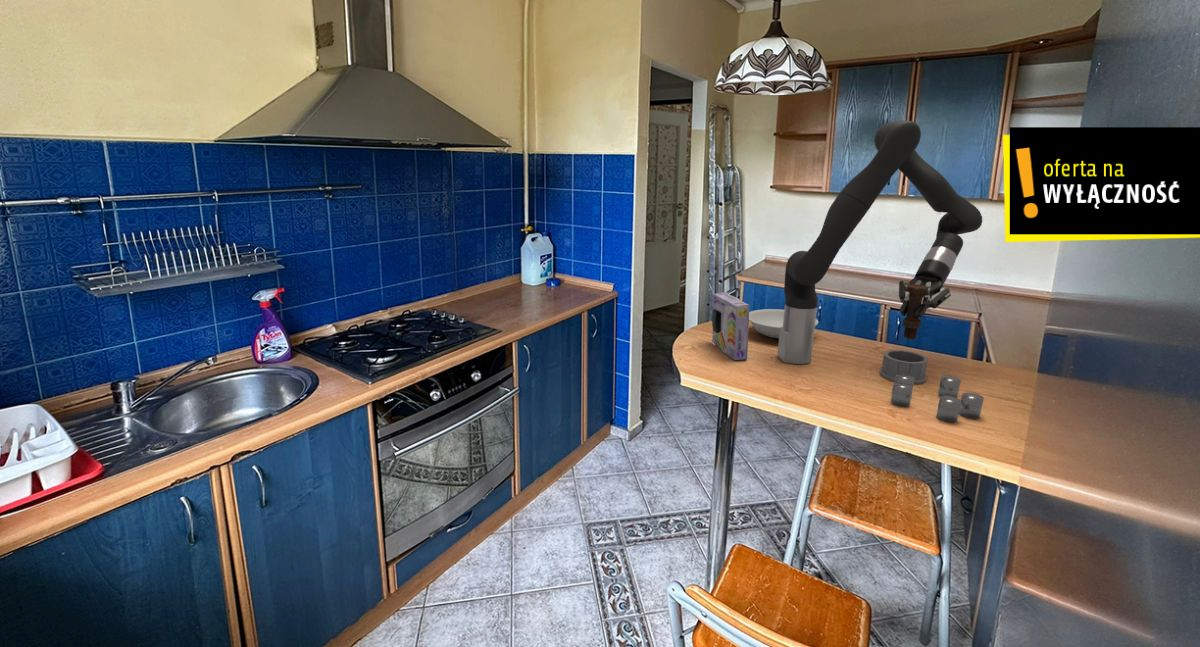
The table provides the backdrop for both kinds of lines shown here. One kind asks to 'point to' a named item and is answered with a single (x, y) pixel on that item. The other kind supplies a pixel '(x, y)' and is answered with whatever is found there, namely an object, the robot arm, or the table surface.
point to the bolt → (913, 309)
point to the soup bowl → (768, 321)
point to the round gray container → (904, 365)
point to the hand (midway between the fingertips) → (909, 315)
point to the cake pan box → (730, 325)
